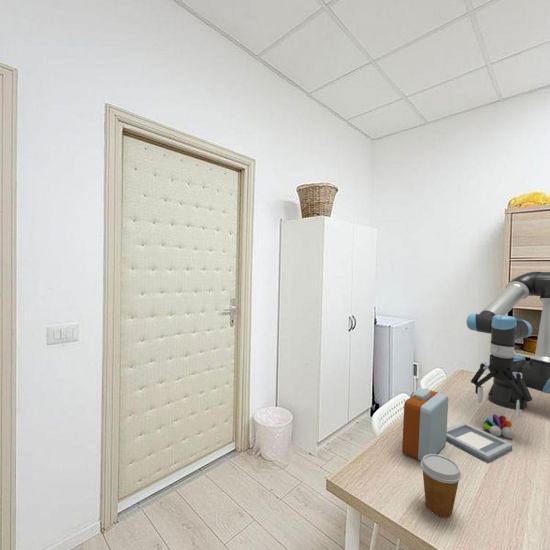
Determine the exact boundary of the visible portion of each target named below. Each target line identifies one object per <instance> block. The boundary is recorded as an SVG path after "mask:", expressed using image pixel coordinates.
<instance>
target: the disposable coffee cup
mask: <svg viewBox="0 0 550 550" xmlns="http://www.w3.org/2000/svg"><path fill="white" fill-rule="evenodd" d="M420 467H421V469H422V476H423V477H422V480H423V489H424V491H423V492H424V501H425V507H426V508H427V510H428V509H429V510H430V511H429V512H430V513H432V512H433V513H434V515H435V514H436V515H435V516H437V515H438V517H440V516H441V517H440V518H450V517H451V516H452V515H453V510H454V505H455V500H456V497H457V491H458V488H459V487H458V486H459V481H460V480H461V479H462V472H461V470H460V466H459V465H458V464H457V463H456V462H455V461H453V460H452V459H451V458H449V457H446V456H445V455H441V454H428V455H425V456H424V457H423V459H422V461H420ZM433 513H432V514H433Z"/></svg>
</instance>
